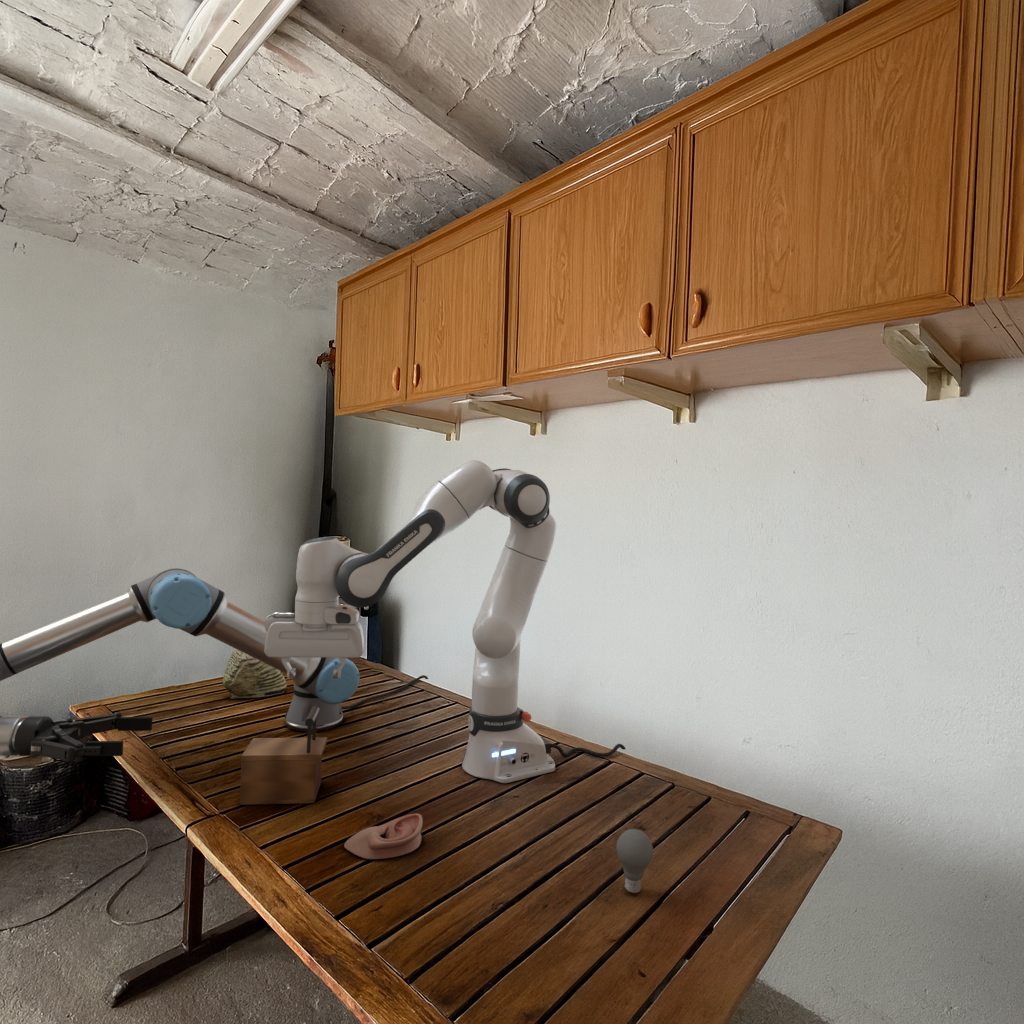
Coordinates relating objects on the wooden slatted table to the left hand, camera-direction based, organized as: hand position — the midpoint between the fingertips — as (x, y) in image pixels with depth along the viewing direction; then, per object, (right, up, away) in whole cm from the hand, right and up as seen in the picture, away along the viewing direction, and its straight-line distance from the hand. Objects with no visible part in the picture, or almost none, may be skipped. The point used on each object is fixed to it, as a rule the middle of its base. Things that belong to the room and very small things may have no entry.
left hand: (137, 735), depth 130 cm
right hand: (+35, +11, +5) cm, 37 cm away
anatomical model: (+53, -15, -13) cm, 57 cm away
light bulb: (+97, -17, -24) cm, 102 cm away
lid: (+29, -5, +4) cm, 30 cm away
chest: (+28, -14, +5) cm, 32 cm away
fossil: (-4, -11, +68) cm, 69 cm away
